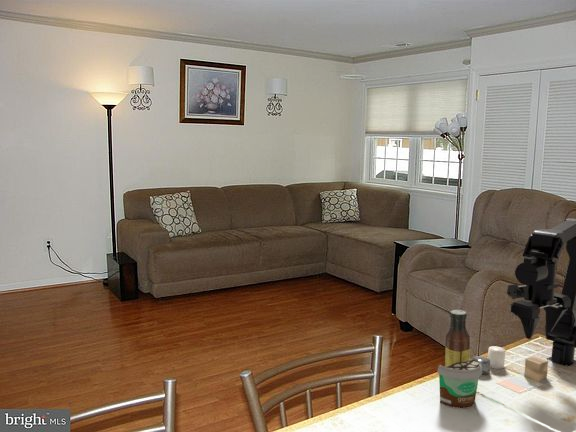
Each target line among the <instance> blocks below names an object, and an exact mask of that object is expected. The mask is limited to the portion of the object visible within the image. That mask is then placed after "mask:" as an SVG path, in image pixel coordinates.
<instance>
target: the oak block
mask: <svg viewBox="0 0 576 432" xmlns="http://www.w3.org/2000/svg"><path fill="white" fill-rule="evenodd" d="M524 361H525V362H524V363H525V364H524V371H523V373H524V377H527V378H529V379H532V380H534V381H537V382H539V381H542V380H544V379H547V378H548V367H549V360H547V359H544V358H542V357H538V356H536V355H533V356H529V357H527V358H525V360H524Z"/></svg>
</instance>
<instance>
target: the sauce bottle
mask: <svg viewBox="0 0 576 432" xmlns="http://www.w3.org/2000/svg"><path fill="white" fill-rule="evenodd" d="M449 317H450V326H449V330H448V331H447V334H446V336H445V344H444V345H445V347H444V348H445V353H444V355H445V356H444V367H447V366H450V365H452V364H454V363H457V362H467V361H470V360H471V338H470V337H471V336H470V334H469V332H468V330H467V326H466V324H467V323H466V319H467V318H468V316H467V312H466V310H461V309H452V310H450V313H449Z"/></svg>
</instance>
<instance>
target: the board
mask: <svg viewBox="0 0 576 432" xmlns="http://www.w3.org/2000/svg"><path fill="white" fill-rule="evenodd" d="M553 381H554V380H553V379H552V378H549V377H547V379H544V380H542V381H539V382H537V381H534V380H532V379H529V378H527V377H524V372H521V373H518V374H516V375H514V376H511V377H509V378H506V379H503V380H499V381H498V382H496V384H497V385H498V386H502V387H503V388H506V389H508V390H510V391H513V392H515V393H517V394H519V395H521V394H523V393H526V392H528V391H529V392H530V391H531V390H533V389H536V388H538V387H541V386H543V385H546V384H547V383H550V382H553Z"/></svg>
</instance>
